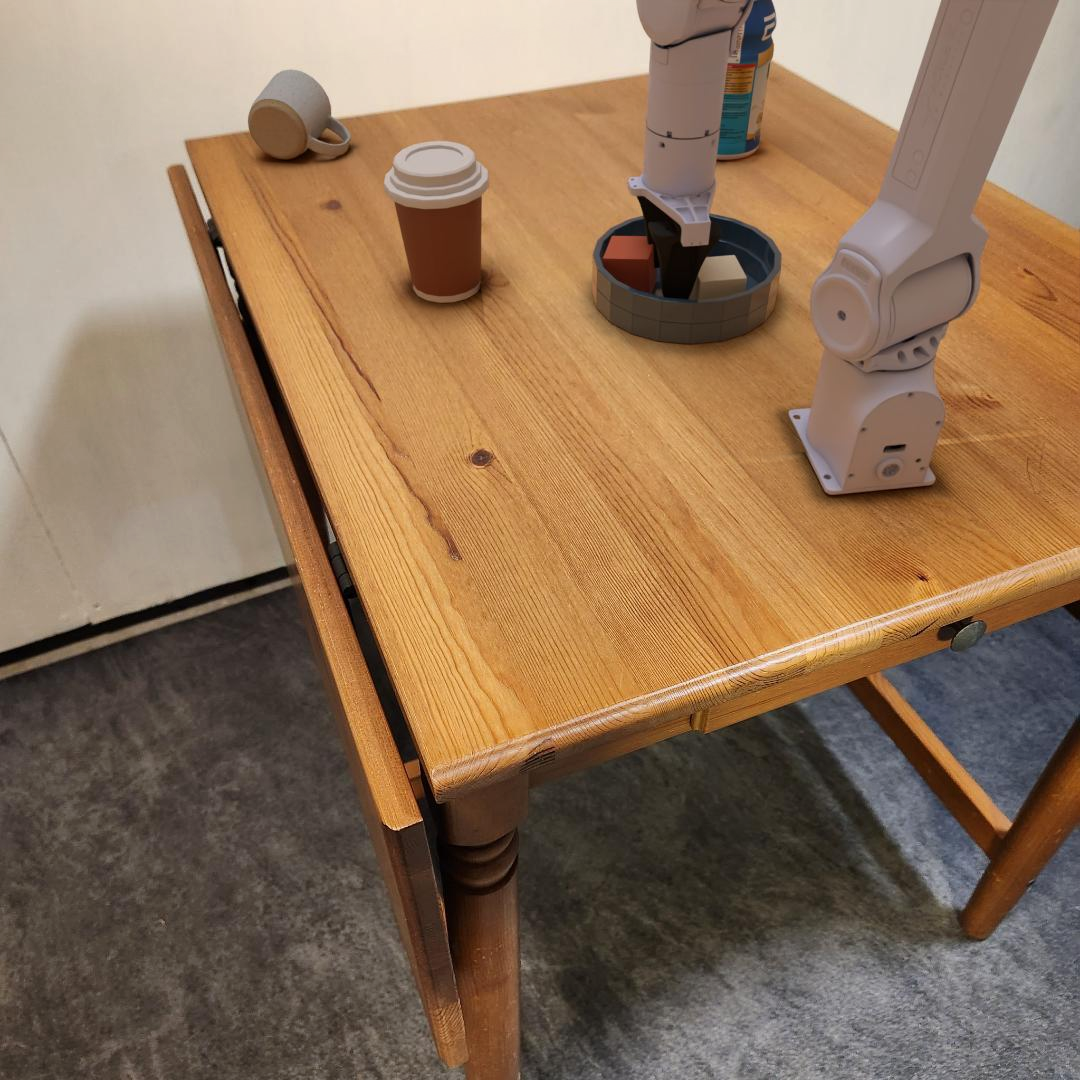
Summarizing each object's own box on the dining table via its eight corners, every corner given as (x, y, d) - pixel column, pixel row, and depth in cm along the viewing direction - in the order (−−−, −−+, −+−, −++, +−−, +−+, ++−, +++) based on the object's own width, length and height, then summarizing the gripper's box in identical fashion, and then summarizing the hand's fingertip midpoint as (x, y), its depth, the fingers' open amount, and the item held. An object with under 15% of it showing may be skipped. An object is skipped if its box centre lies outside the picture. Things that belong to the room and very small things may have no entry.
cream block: (741, 319, 82) (747, 277, 79) (695, 323, 81) (700, 281, 79) (729, 295, 84) (734, 254, 82) (685, 299, 84) (689, 258, 81)
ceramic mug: (251, 161, 109) (235, 92, 103) (277, 133, 114) (263, 66, 109) (339, 167, 107) (328, 98, 102) (360, 138, 113) (351, 71, 108)
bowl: (797, 341, 80) (806, 293, 77) (609, 357, 79) (610, 310, 76) (745, 249, 92) (751, 205, 88) (580, 262, 90) (581, 218, 87)
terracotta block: (650, 300, 84) (648, 259, 81) (605, 298, 85) (602, 258, 82) (657, 276, 86) (656, 236, 83) (614, 275, 87) (611, 235, 84)
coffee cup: (459, 320, 84) (447, 189, 75) (378, 294, 87) (357, 166, 79) (514, 274, 89) (508, 147, 81) (436, 252, 93) (422, 128, 84)
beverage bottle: (671, 142, 110) (686, -56, 96) (730, 127, 113) (753, -68, 99) (714, 168, 105) (736, -37, 91) (775, 152, 107) (806, -50, 93)
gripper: (616, 91, 77) (610, 244, 87) (649, 168, 67) (638, 331, 77) (700, 86, 78) (686, 238, 88) (746, 162, 68) (723, 325, 77)
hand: (669, 282), depth 82 cm, fingers open, 5 cm apart
